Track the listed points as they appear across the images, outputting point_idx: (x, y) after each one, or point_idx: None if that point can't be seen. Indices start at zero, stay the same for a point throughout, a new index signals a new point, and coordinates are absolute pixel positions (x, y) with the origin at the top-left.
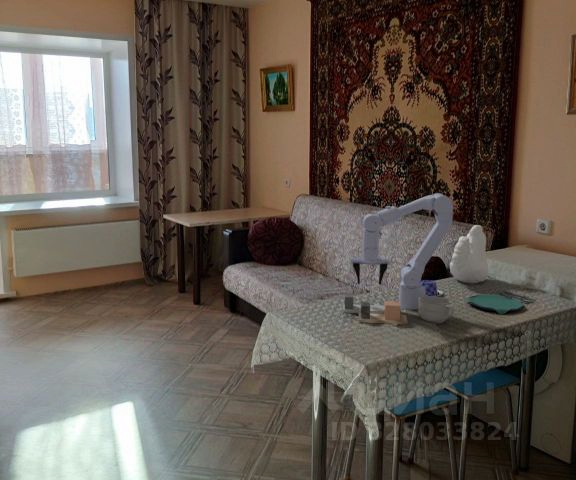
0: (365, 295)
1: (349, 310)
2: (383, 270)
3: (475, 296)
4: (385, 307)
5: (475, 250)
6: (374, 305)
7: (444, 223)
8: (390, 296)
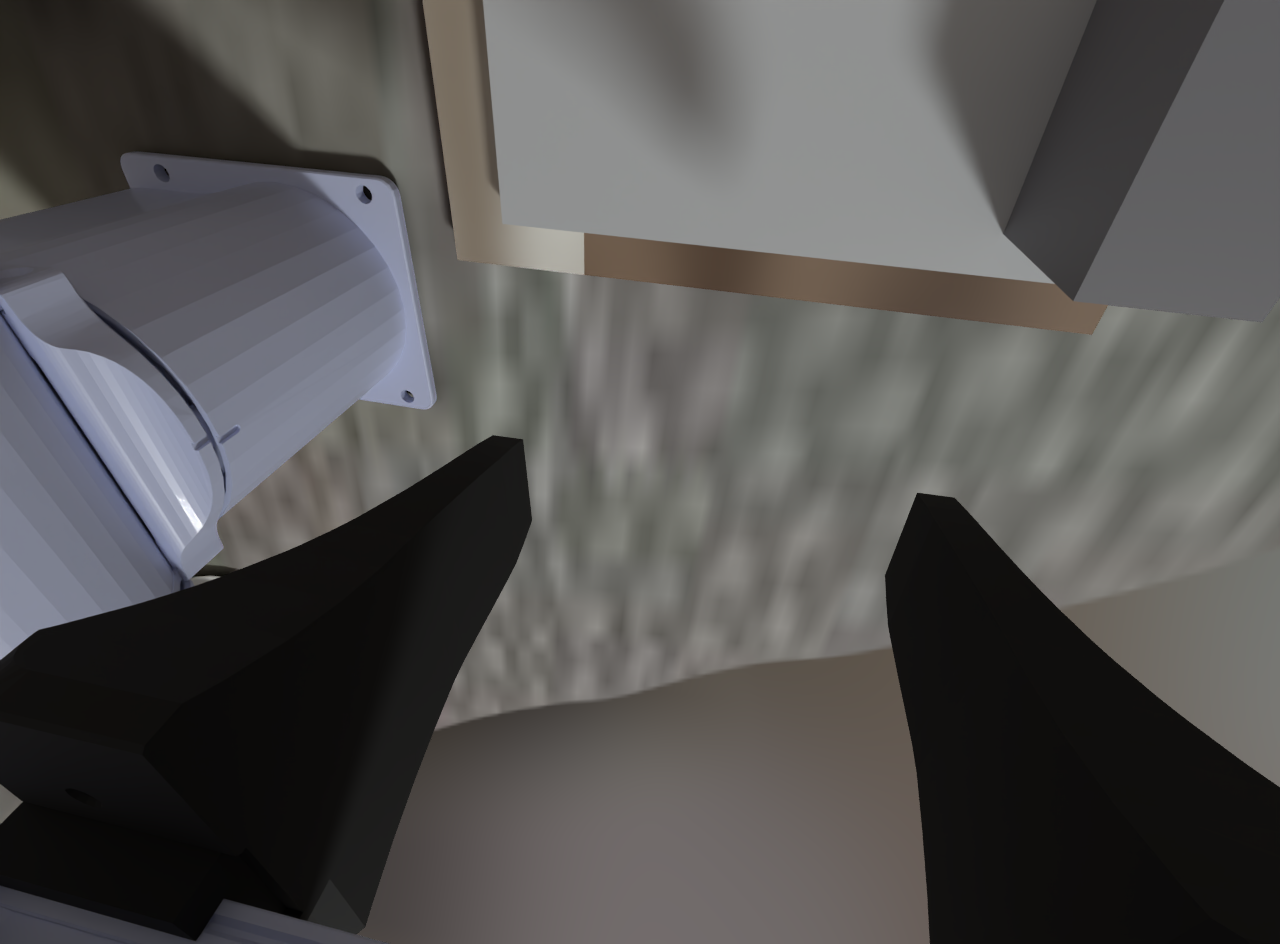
0: (698, 655)
1: None
2: (196, 622)
3: None
4: None
5: None
6: (672, 229)
7: None
8: (504, 615)
